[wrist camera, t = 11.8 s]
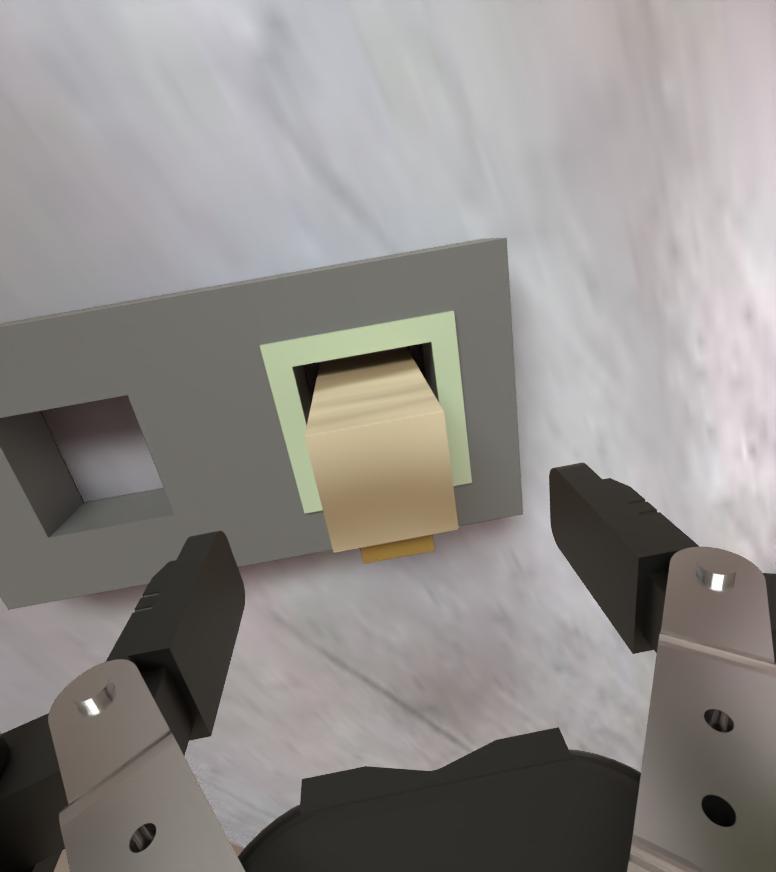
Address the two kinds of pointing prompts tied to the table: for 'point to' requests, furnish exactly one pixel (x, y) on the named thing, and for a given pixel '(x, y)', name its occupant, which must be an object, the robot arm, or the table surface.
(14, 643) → the table surface
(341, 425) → the plug
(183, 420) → the panel
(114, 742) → the robot arm
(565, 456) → the table surface
